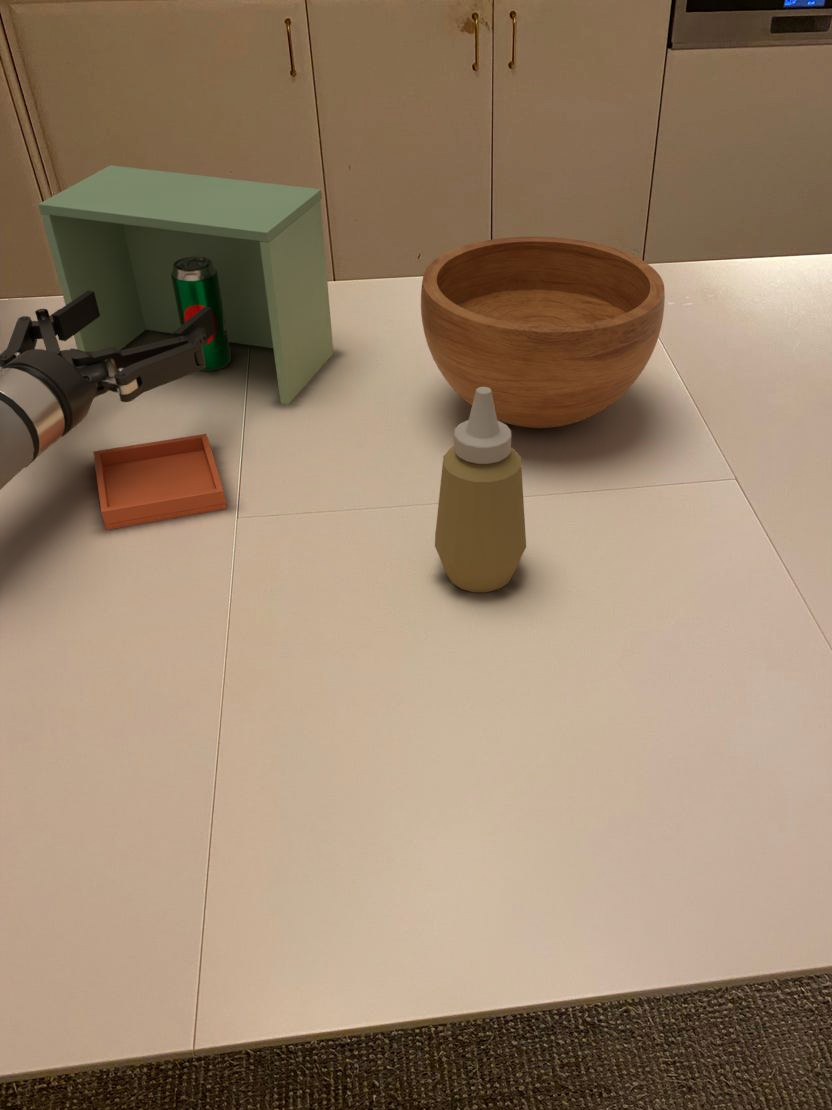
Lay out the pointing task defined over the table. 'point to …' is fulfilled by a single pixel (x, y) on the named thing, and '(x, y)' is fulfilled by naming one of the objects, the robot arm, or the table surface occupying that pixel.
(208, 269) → the soda can
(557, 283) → the bowl
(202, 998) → the table surface
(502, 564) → the squeeze bottle
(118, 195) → the cubby
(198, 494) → the tray
